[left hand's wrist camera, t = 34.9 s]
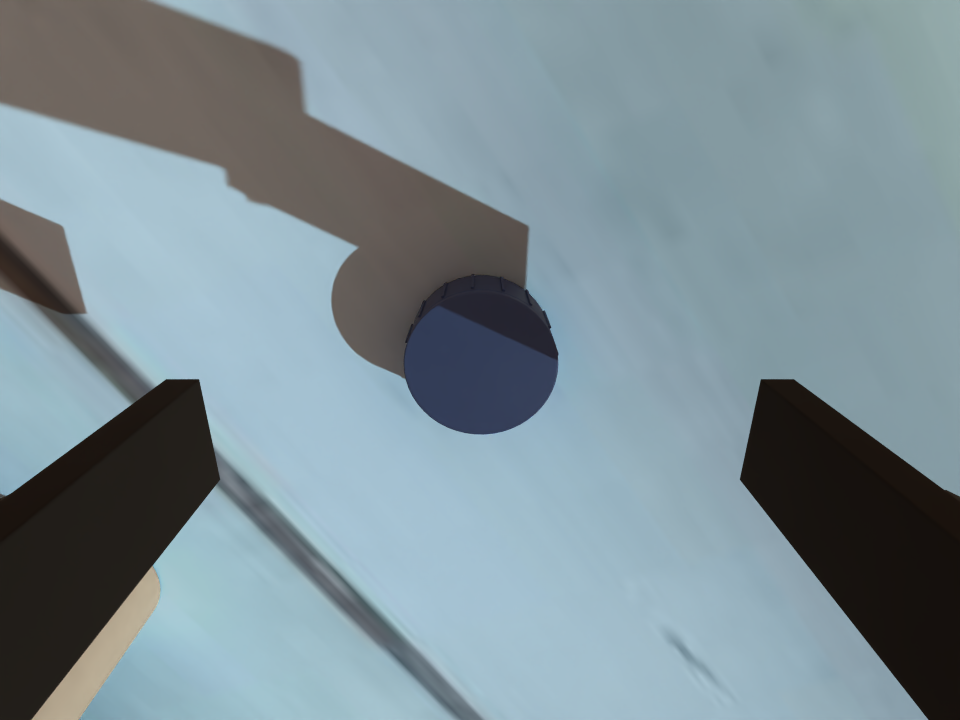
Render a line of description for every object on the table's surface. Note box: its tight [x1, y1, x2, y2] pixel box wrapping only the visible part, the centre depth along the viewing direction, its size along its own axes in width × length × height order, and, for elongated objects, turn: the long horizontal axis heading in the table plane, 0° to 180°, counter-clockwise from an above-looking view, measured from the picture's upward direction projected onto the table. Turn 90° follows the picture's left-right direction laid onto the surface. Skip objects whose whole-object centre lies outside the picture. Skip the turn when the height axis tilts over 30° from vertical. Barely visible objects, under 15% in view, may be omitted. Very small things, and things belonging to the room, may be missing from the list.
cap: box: [404, 274, 558, 434], centre depth 16 cm, size 4×4×2 cm
